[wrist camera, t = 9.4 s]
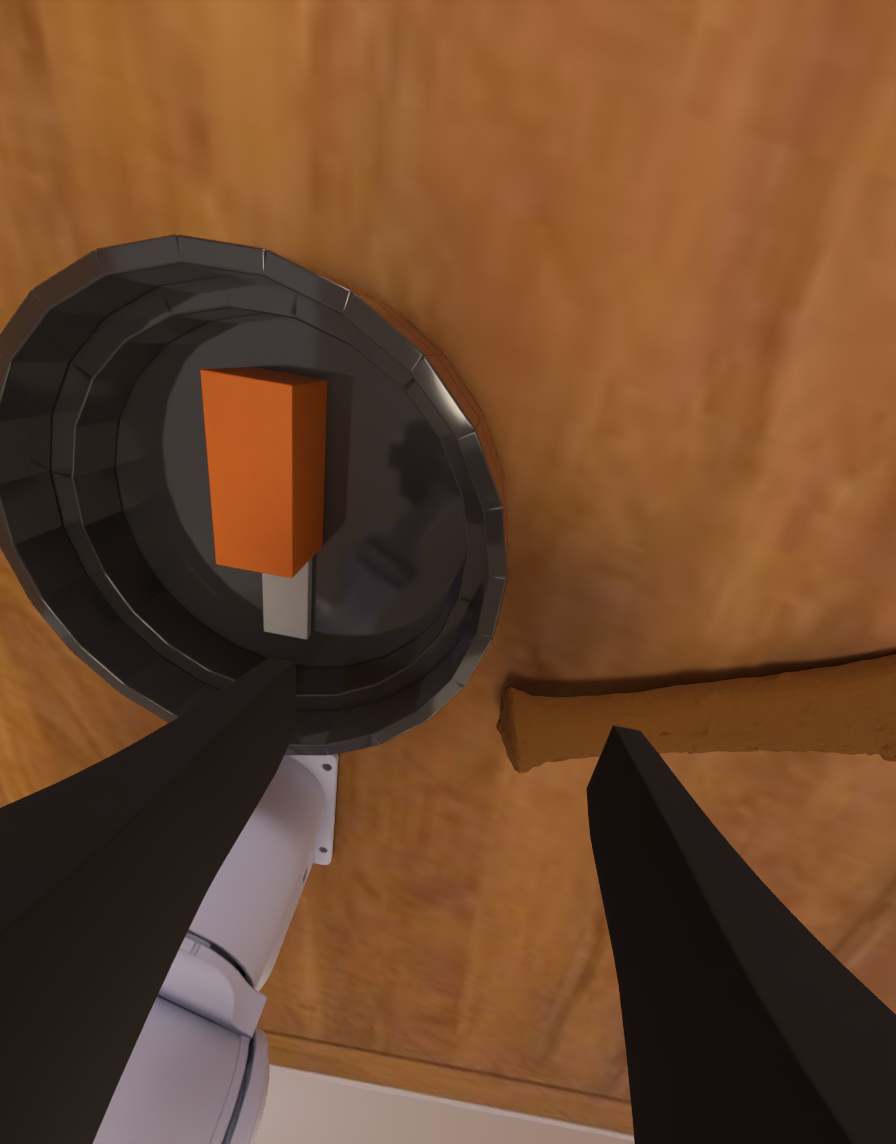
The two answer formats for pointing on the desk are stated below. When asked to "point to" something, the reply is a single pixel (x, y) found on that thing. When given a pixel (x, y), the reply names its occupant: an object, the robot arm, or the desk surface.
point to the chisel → (268, 482)
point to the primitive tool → (716, 716)
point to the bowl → (183, 503)
